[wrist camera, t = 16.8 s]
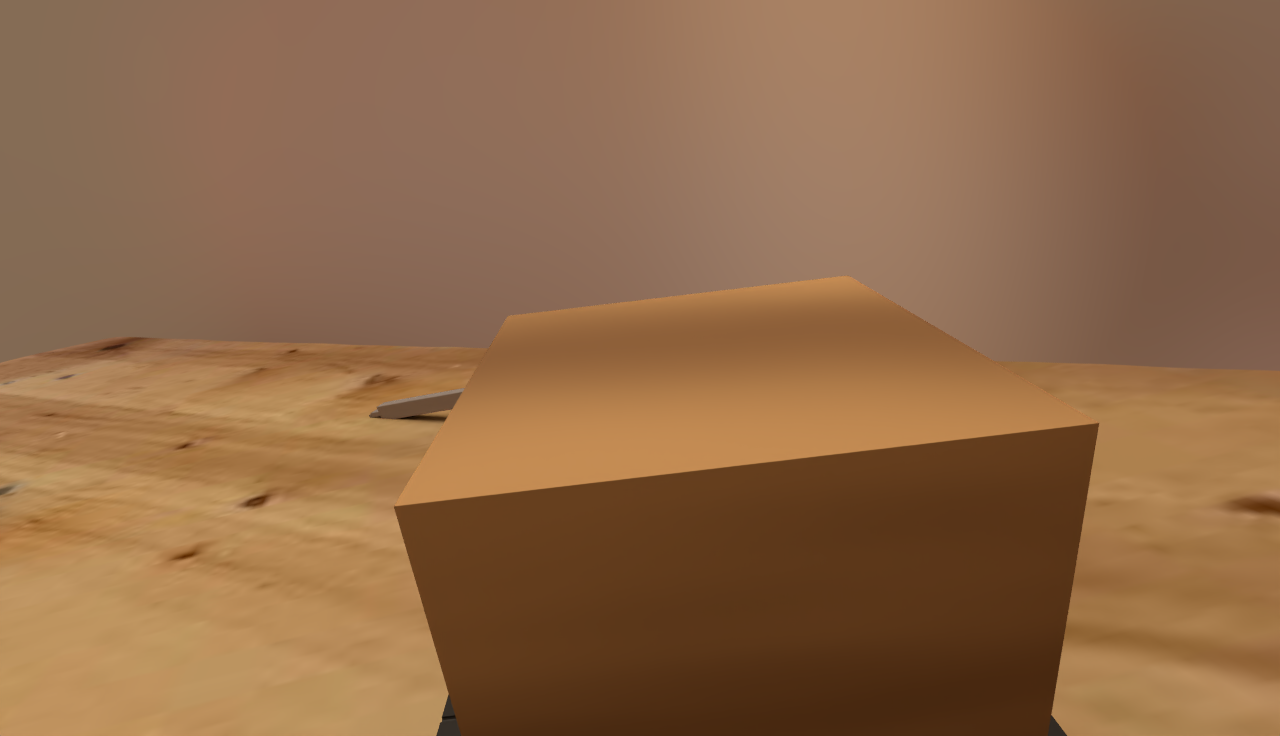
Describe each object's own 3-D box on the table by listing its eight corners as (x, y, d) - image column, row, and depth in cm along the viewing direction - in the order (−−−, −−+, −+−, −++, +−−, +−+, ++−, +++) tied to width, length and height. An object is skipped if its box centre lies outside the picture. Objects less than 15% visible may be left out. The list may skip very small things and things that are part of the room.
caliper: (571, 425, 52) (559, 355, 49) (565, 431, 51) (553, 360, 48) (377, 415, 59) (359, 353, 56) (369, 420, 58) (351, 357, 56)
